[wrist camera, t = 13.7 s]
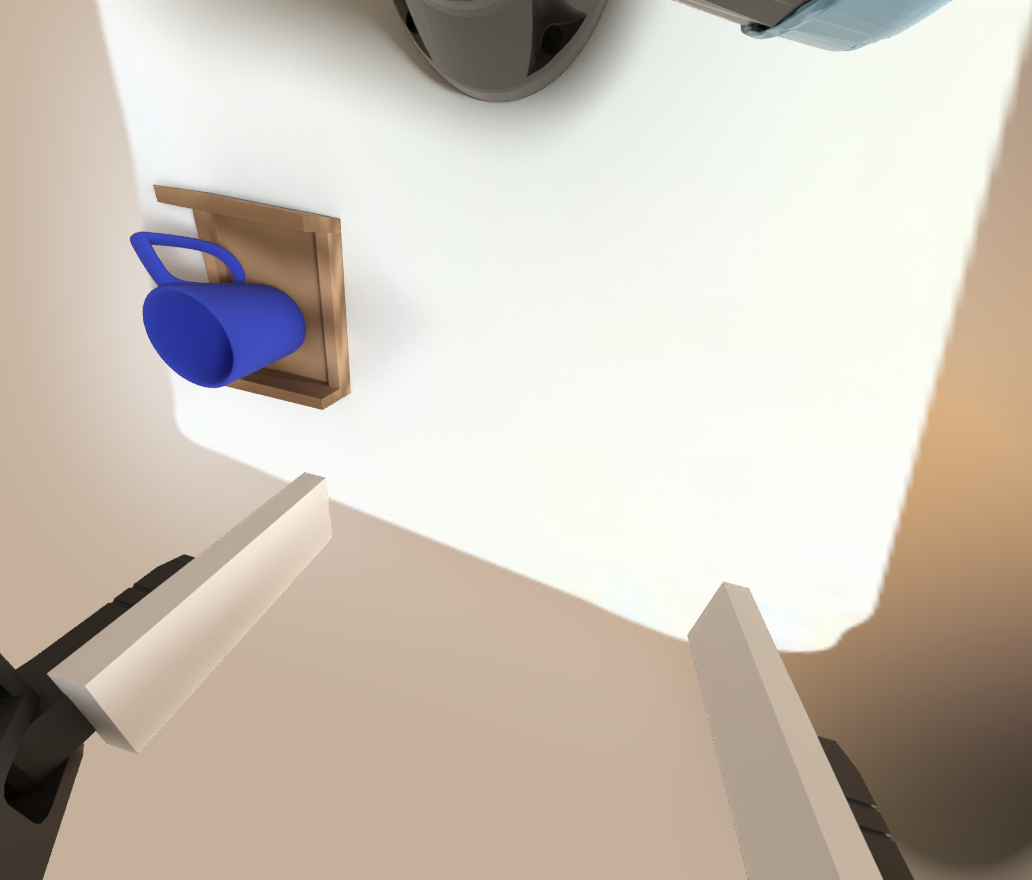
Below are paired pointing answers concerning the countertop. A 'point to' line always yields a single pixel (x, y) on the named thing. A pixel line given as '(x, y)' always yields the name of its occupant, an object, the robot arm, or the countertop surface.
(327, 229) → the tray
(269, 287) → the mug
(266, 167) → the countertop surface
